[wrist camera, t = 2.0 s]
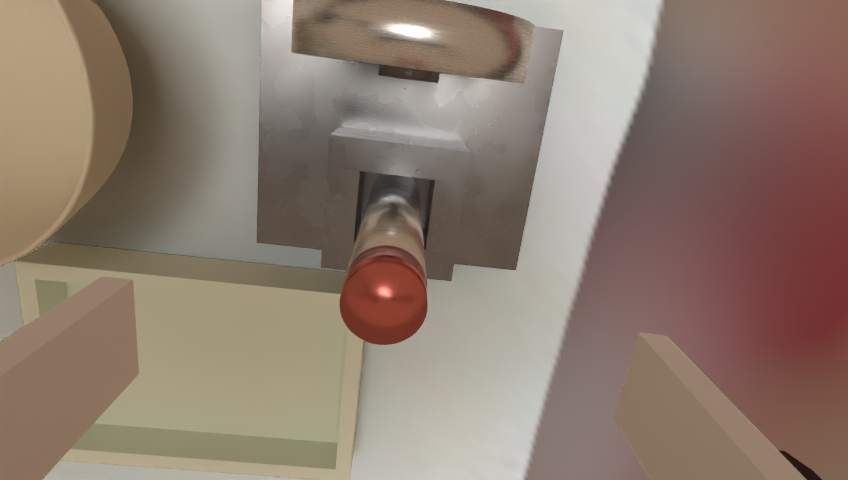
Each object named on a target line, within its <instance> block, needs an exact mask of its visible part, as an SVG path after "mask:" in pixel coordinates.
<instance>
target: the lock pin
mask: <svg viewBox="0 0 848 480" xmlns="http://www.w3.org/2000/svg"><path fill="white" fill-rule="evenodd" d="M426 287H427V276H426V264H425V253H424V241H423V230H422V219H421V207H420V196H419V188H418V185H417V183H416V181H415V180H414V178H413V177H405V176H397V175H388V174H382V175H380V176H379V177H378V178H377V179H376V181H375V182H374V185H373V188H372V191H371V194H370V197H369V200H368V204H367V207H366V210H365V213H364V217H363V220H362V223H361V226H360V229H359V233H358V236H357V239H356V242H355V245H354V249H353V252H352V255H351V258H350V262H349V265H348V268H347V271H346V275H345V283H344V286H343V289H342V293H341V296H340V313H341V316H342V319H343V321H344V323H345V325H346V326H347V327H348V329H349V330H350V331H351V332H352V333H353V334H354V335H356V336H357V337H359V338H360V339H362V340H364V341H367V342H370V343H373V344H379V345H388V344H394V343H398V342H401V341H403V340H406V339H407V338H409V337H411V336H412V335H413V334H414V333H415V332H416V331H417V330H418V329H419V328H420V327H421V325H422V323H423V322H424V319H425V317H426V313H427V294H426Z"/></svg>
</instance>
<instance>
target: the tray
mask: <svg viewBox="0 0 848 480" xmlns="http://www.w3.org/2000/svg"><path fill="white" fill-rule="evenodd" d="M14 264H15V271H16V278H17V285H18V291H19V298H20V305H21V312H22V318H23V325H24V326H26V325H27V324H29V323H30V322H32V321H33V320H35V319H36V318H38V317H40V316H41V315H43V314H44V313H46V312H47V311H49V310H50V309H52V308H53V307H55V306H57V305H58V304H60V303H61V302H63V301H64V300H66V299H67V298H69V297H71V296H72V295H74V294H75V293H77V292H78V291H80V290H81V289H83V288H84V287H86V286H88V285H89V284H91V283H92V282H94V281H95V280H97V279H98V278H100V277H112V278H121V279H131V280H133V287H134V302H135V318H136V334H137V350H138V365H139V375H138V376H137V377H136V378H135V379H134V380H133V381H132V382H131V383H130V384H129V386H128V387H127V388H126V389H125V390H124V391H123V392H122V393H121V394H120V395H119V396H118V397H117V399H116V400H115V401H114V402H113V403H112V404H111V405H110V406H109V407H108V408H107V409H106V411H105V412H104V413H103V414H102V415H101V416H100V417H99V418H98V419H97V420H96V421H95V423H94V424H93V425H92V426H91V427H90V428H89V429H88V430H87V431H86V432H85V433H84V435H83V436H82V437H81V438H80V439H79V440H78V441H77V442H76V443H75V444H74V445H73V446H72V448H71V449H70V450H69V451H68V452H67V453H66V454H65V455H64V456H63V457H62V458H61V461H75V462H88V463H101V464H114V465H128V466H141V467H154V468H167V469H181V470H194V471H207V472H221V473H234V474H247V475H260V476H274V477H287V478H300V479H313V480H349V479H350V472H351V465H352V458H353V452H354V443H355V433H356V423H357V413H358V403H359V393H360V383H361V373H362V363H363V353H364V343H365V341H364V340H362V339H360V338H359V337H357V336H356V335H354V334H353V333H352V332H351V331H350V330H349V329H348V327H347V326H346V325H345V323H344V321H343V319H342V316H341V313H340V296H341V293H342V289H343V286H344V283H345V275H346V273H345V272H335V271H326V270H316V269H306V268H297V267H287V266H278V265H268V264H259V263H249V262H239V261H230V260H220V259H211V258H201V257H191V256H182V255H172V254H163V253H153V252H143V251H134V250H124V249H115V248H105V247H95V246H86V245H76V244H67V243H57V242H53V243H51V244H49V245H47V246H45V247H43V248H40V249H38V250H36V251H34V252H32V253H30V254H28V255H26V256H24V257H22V258H20V259H18V260H15V261H14Z"/></svg>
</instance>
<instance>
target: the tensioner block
mask: <svg viewBox="0 0 848 480" xmlns="http://www.w3.org/2000/svg"><path fill="white" fill-rule="evenodd" d="M562 35H563V30H556V29H549V28H542V27H535V26H534V25H533V24H532V23H531V22H529V21H527V20H524V19H522V18H519V17H516V16H513V15H509V14H506V13H502V12H498V11H494V10H490V9H486V8H481V7H477V6H472V5H467V4H462V3H457V2H451V1H445V0H262V10H261V62H260V113H259V165H258V216H257V243H266V244H275V245H285V246H294V247H303V248H313V249H322V263H321V268H331V269H340V270H347V268H348V265H349V262H350V258H351V255H352V252H353V249H354V245H355V242H356V239H357V236H358V233H359V229H360V226H361V223H362V220H363V217H364V213H365V210H366V207H367V204H368V200H369V197H370V194H371V191H372V188H373V185H374V182H375V181H376V179H377V178H378V177H379V176H380V175H382V174H388V175H397V176H405V177H413V178H414V180H415V181H416V183H417V185H418V188H419V196H420V207H421V219H422V230H423V241H424V253H425V264H426V276H427V279H436V280H446V281H451V279H452V273H453V266H454V264H462V265H471V266H481V267H490V268H500V269H509V270H516V266H517V261H518V256H519V251H520V246H521V241H522V236H523V231H524V226H525V221H526V216H527V211H528V206H529V201H530V196H531V191H532V186H533V181H534V176H535V171H536V166H537V161H538V156H539V151H540V146H541V141H542V136H543V131H544V126H545V121H546V116H547V111H548V106H549V101H550V96H551V91H552V86H553V81H554V76H555V71H556V66H557V60H558V55H559V50H560V45H561V40H562Z"/></svg>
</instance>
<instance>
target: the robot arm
mask: <svg viewBox="0 0 848 480" xmlns="http://www.w3.org/2000/svg"><path fill="white" fill-rule="evenodd" d="M138 375H139V365H138V350H137V334H136V318H135V302H134V287H133V280H131V279H121V278H112V277H100V278H98V279H97V280H95V281H94V282H92V283H91V284H89V285H88V286H86V287H84V288H83V289H81V290H80V291H78V292H77V293H75V294H74V295H72V296H71V297H69V298H67V299H66V300H64V301H63V302H61V303H60V304H58V305H57V306H55V307H53V308H52V309H50V310H49V311H47V312H46V313H44V314H43V315H41V316H40V317H38V318H36V319H35V320H33V321H32V322H30V323H29V324H27V325H26V326H24V327H22V328H21V329H19V330H18V331H16V332H15V333H13V334H12V335H10V336H9V337H7V338H5V339H4V340H2V341H1V342H0V480H42V479H43V478H44V477H45V476H46V475H47V474H48V473H49V472H50V470H51V469H52V468H53V467H54V466H55V465H56V464H57V463H58V462H59V461H60V460H61V458H62V457H63V456H64V455H65V454H66V453H67V452H68V451H69V450H70V449H71V448H72V446H73V445H74V444H75V443H76V442H77V441H78V440H79V439H80V438H81V437H82V436H83V435H84V433H85V432H86V431H87V430H88V429H89V428H90V427H91V426H92V425H93V424H94V423H95V421H96V420H97V419H98V418H99V417H100V416H101V415H102V414H103V413H104V412H105V411H106V409H107V408H108V407H109V406H110V405H111V404H112V403H113V402H114V401H115V400H116V399H117V397H118V396H119V395H120V394H121V393H122V392H123V391H124V390H125V389H126V388H127V387H128V386H129V384H130V383H131V382H132V381H133V380H134V379H135V378H136V377H137V376H138ZM614 420H615V422H616V423H617V425H618V427H619V429H620V430H621V432H622V434H623V436H624V437H625V439H626V441H627V442H628V444H629V446H630V448H631V449H632V451H633V453H634V454H635V456H636V458H637V460H638V461H639V463H640V465H641V467H642V468H643V470H644V472H645V473H646V475H647V477H648V479H649V480H822V479H821V478H820V477H819V476H818V475H817V474H816V473H815V472H814V471H812V470H811V469H810V468H808V467H807V466H805V465H804V464H802V463H801V462H799V461H798V460H797V459H795V458H794V457H792V456H791V455H789V454H788V453H786V452H785V451H778V450H777V449H776V448H775V447H774V446H773V445H772V444H771V442H769V440H768V439H767V438H766V437H765V436H764V435H763V434H762V433H761V432H760V431H759V430H758V429H757V428H756V427H755V426H754V425H753V424H752V423H751V422H750V421H749V420H748V419H747V418H746V417H745V416H744V415H743V414H742V413H741V412H740V411H739V410H738V409H737V408H736V407H735V406H734V404H733V403H731V401H730V400H729V399H728V398H727V397H726V396H725V395H724V394H723V393H722V392H721V391H720V390H719V389H718V388H717V387H716V386H715V385H714V384H713V383H712V382H711V381H710V380H709V379H708V378H707V377H706V376H705V375H704V374H703V373H702V372H701V371H700V370H699V368H697V366H696V365H695V364H694V363H693V362H692V361H691V360H690V359H689V358H688V357H687V356H686V355H685V354H684V353H683V352H682V351H681V350H680V349H679V348H678V347H677V346H676V345H675V344H674V343H673V342H672V341H671V340H670V339H669V338H668V337H667V336H665V335H656V334H647V333H639V334H638V337H637V340H636V344H635V347H634V351H633V354H632V358H631V361H630V364H629V368H628V371H627V374H626V378H625V381H624V385H623V388H622V392H621V395H620V398H619V402H618V405H617V408H616V412H615V415H614Z"/></svg>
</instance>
